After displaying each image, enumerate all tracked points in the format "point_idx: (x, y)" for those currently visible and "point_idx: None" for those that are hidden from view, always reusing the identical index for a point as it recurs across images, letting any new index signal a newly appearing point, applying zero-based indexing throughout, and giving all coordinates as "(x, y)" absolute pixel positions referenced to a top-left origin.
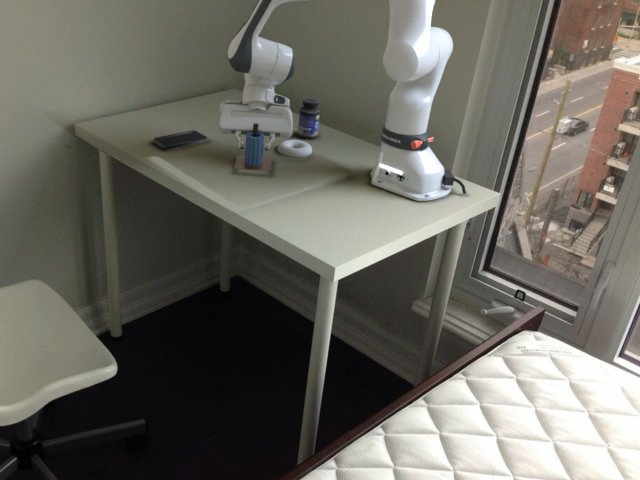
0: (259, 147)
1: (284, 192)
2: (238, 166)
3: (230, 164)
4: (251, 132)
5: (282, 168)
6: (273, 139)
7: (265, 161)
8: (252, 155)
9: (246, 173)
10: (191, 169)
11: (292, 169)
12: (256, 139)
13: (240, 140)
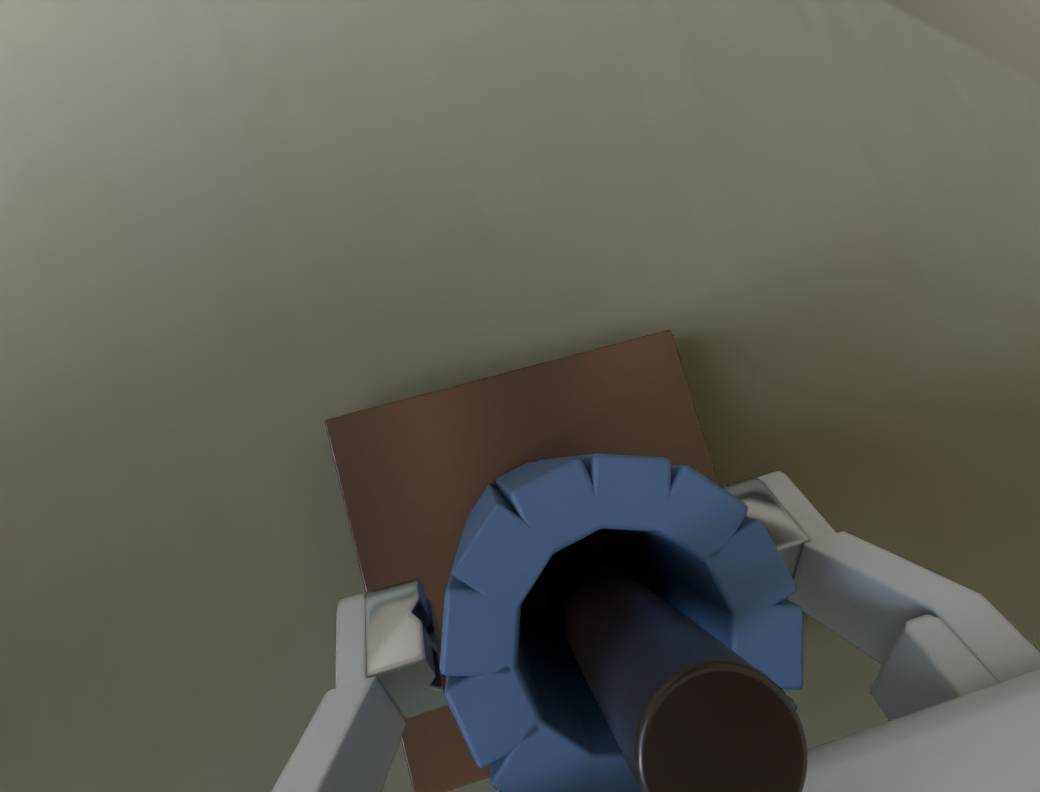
0: (482, 508)
1: (137, 153)
2: (652, 390)
3: None
4: None
5: (277, 662)
6: (286, 778)
7: None
8: (553, 458)
9: None
10: (995, 278)
11: (174, 685)
12: (540, 473)
13: (818, 542)
